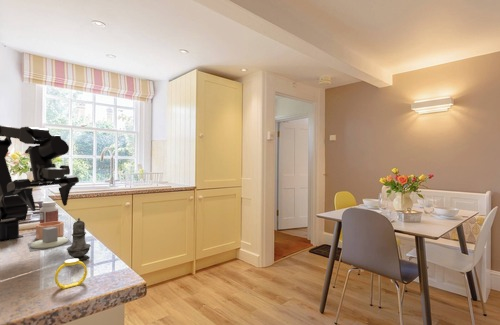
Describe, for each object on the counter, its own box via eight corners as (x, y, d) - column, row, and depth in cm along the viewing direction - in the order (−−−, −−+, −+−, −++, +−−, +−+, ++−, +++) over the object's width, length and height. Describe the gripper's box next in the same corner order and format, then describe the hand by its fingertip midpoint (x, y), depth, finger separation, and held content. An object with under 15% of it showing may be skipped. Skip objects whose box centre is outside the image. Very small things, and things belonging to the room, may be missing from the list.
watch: (85, 281, 62) (87, 256, 62) (86, 286, 60) (89, 259, 60) (53, 287, 58) (56, 260, 59) (54, 292, 56) (56, 264, 56)
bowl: (31, 238, 95) (31, 224, 95) (56, 233, 102) (56, 220, 102) (43, 241, 92) (43, 227, 92) (68, 235, 99) (68, 222, 99)
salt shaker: (78, 264, 72) (78, 220, 72) (61, 262, 73) (61, 219, 73) (95, 256, 78) (95, 216, 78) (78, 255, 79) (78, 215, 79)
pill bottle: (61, 226, 114) (61, 200, 114) (53, 229, 108) (53, 202, 108) (44, 226, 112) (44, 201, 112) (36, 230, 106) (36, 203, 106)
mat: (27, 244, 88) (27, 243, 88) (66, 238, 96) (66, 237, 96) (30, 253, 80) (30, 251, 80) (72, 245, 88) (72, 243, 88)
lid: (24, 245, 86) (24, 229, 86) (57, 237, 95) (57, 223, 95) (40, 250, 81) (40, 233, 81) (74, 241, 90) (74, 226, 90)
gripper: (19, 157, 77) (28, 209, 75) (83, 156, 93) (92, 198, 92) (2, 166, 82) (10, 215, 80) (66, 164, 98) (74, 204, 97)
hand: (50, 208), depth 87 cm, fingers open, 9 cm apart
